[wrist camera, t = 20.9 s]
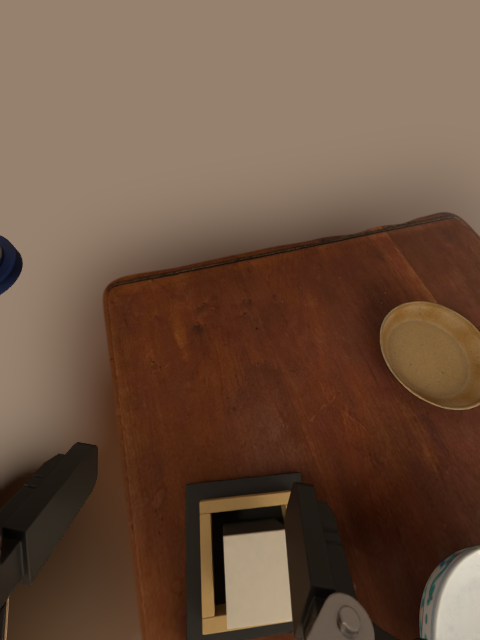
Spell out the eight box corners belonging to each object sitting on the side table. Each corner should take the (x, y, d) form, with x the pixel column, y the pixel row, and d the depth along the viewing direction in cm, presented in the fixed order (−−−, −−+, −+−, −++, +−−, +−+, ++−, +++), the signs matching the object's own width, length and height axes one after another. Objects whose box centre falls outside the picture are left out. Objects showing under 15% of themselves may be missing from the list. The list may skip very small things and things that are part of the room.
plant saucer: (496, 352, 40) (512, 345, 38) (459, 440, 35) (476, 437, 32) (398, 293, 44) (408, 283, 42) (351, 362, 39) (359, 355, 36)
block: (225, 588, 26) (227, 629, 19) (223, 522, 29) (223, 536, 22) (280, 582, 27) (301, 619, 20) (273, 516, 29) (289, 529, 22)
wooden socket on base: (188, 642, 25) (183, 666, 22) (187, 484, 31) (182, 485, 28) (321, 621, 26) (335, 641, 23) (297, 472, 32) (306, 471, 29)
